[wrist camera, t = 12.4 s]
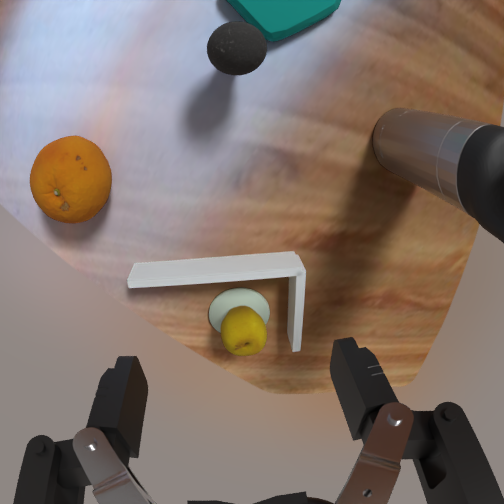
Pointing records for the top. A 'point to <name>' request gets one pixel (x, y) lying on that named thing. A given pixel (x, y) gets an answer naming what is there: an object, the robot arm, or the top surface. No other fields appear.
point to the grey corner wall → (232, 278)
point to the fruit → (71, 179)
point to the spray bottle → (283, 15)
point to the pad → (237, 304)
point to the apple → (243, 331)
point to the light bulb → (236, 48)
